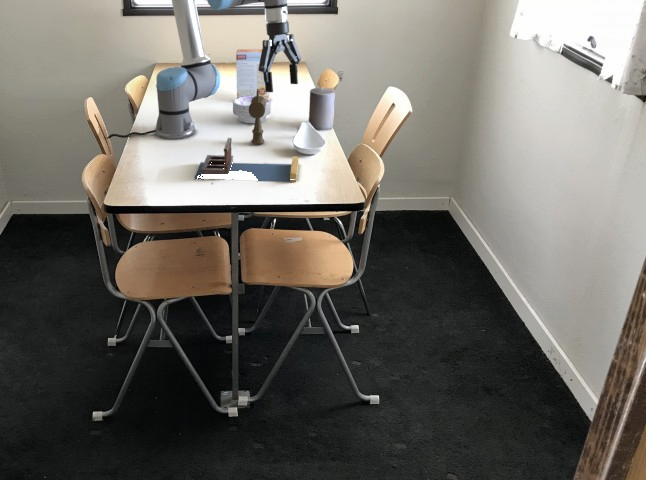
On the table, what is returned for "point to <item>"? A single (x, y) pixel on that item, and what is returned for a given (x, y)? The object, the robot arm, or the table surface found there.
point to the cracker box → (249, 73)
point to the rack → (219, 161)
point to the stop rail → (294, 169)
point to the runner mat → (260, 171)
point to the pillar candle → (321, 108)
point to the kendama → (257, 117)
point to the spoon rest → (308, 139)
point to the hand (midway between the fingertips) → (282, 87)
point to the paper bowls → (242, 109)
